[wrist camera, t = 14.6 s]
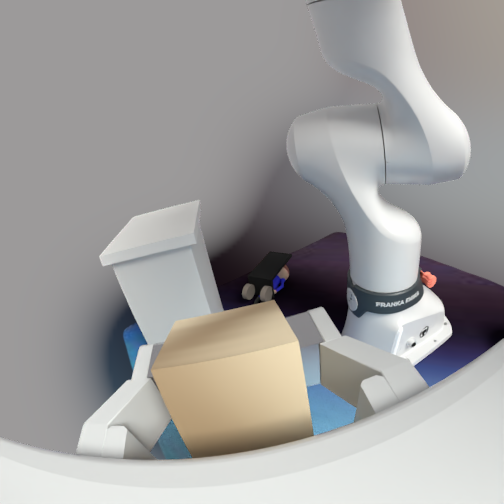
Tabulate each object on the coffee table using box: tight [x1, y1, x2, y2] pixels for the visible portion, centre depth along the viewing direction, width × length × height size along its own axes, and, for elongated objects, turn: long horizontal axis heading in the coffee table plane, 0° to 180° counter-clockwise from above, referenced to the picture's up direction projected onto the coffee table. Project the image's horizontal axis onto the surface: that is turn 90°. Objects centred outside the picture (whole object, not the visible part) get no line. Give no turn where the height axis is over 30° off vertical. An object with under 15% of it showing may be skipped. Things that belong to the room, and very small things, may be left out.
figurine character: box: [242, 252, 292, 304], centre depth 66 cm, size 7×8×15 cm
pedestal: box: [99, 200, 224, 344], centre depth 49 cm, size 14×20×26 cm
